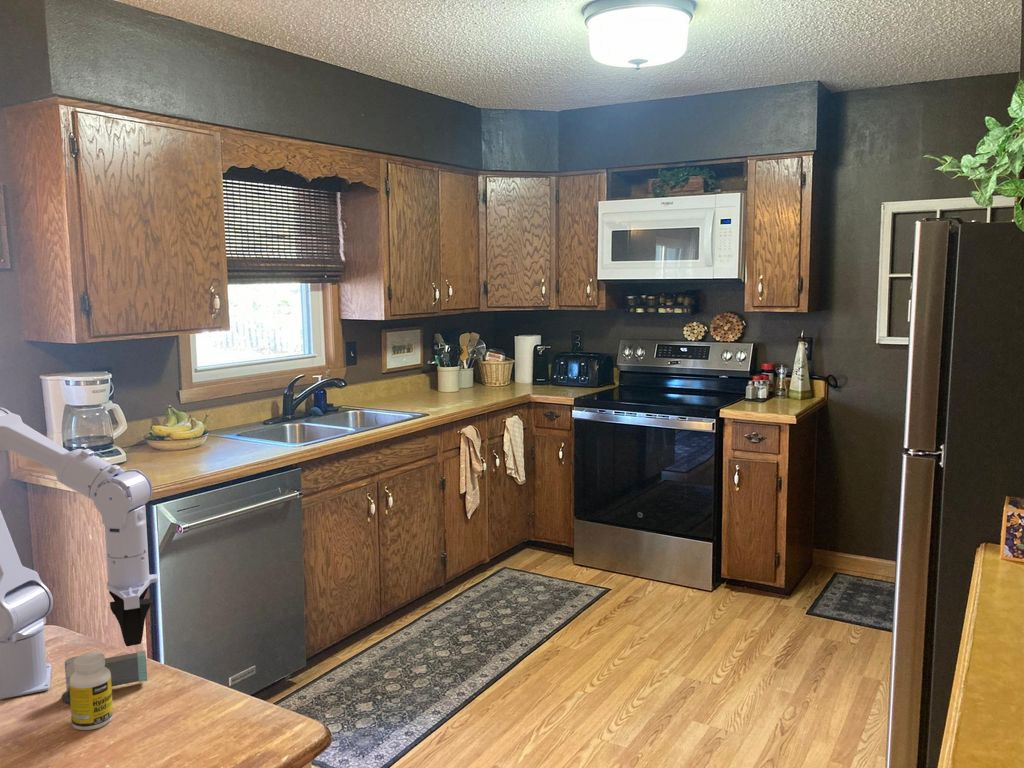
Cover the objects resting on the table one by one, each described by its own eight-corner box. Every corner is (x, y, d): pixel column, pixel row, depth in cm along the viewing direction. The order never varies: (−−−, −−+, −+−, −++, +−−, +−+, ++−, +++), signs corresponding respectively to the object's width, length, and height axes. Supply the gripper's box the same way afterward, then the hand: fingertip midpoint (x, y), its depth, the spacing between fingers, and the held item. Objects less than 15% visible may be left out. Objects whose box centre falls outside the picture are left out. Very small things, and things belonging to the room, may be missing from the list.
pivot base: (62, 693, 131) (62, 690, 131) (93, 687, 133) (93, 683, 133) (61, 706, 127) (61, 702, 127) (94, 700, 129) (93, 696, 129)
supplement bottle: (96, 733, 119) (92, 668, 118) (63, 729, 121) (58, 664, 119) (121, 714, 125) (117, 651, 123) (89, 710, 126) (85, 648, 124)
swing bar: (66, 697, 128) (64, 666, 127) (66, 689, 130) (64, 658, 130) (147, 681, 133) (145, 651, 132) (146, 673, 135) (144, 644, 135)
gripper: (159, 562, 122) (164, 651, 124) (152, 535, 135) (157, 615, 137) (105, 570, 119) (111, 661, 121) (103, 541, 132) (109, 623, 134)
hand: (132, 637), depth 129 cm, fingers open, 5 cm apart
